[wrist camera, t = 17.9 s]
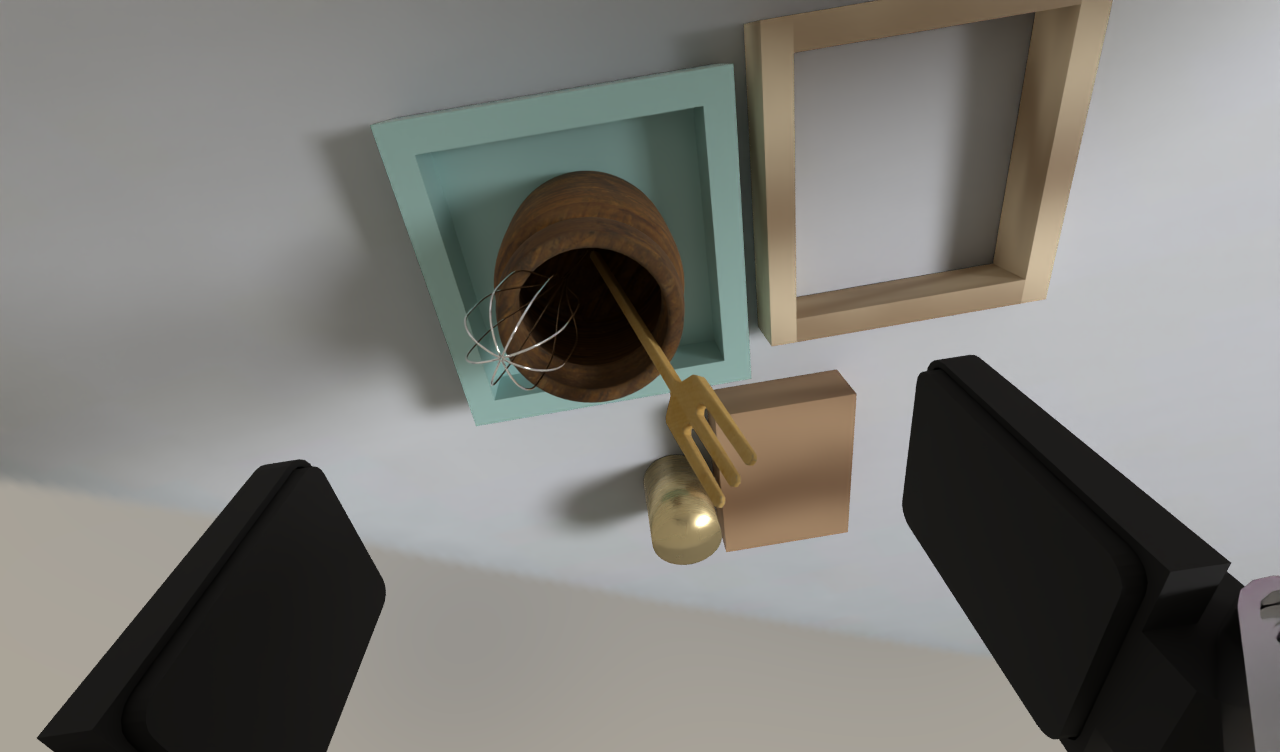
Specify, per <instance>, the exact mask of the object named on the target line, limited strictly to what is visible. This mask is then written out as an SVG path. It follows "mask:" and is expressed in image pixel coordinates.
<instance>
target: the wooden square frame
mask: <svg viewBox="0 0 1280 752" xmlns="http://www.w3.org/2000/svg"><path fill="white" fill-rule="evenodd" d="M1112 1H1113V0H877V1H871V2H865V3H859V4H854V5H848V6H842V7H836V8H830V9H824V10H818V11H812V12H806V13H800V14H794V15H789V16H783V17H777V18H771V19H765V20H759V21H755V22H751V23H747V24H744V41H745V62H746V83H747V104H748V126H749V147H750V168H751V189H752V210H753V231H754V252H755V273H756V294H757V316H758V327H759V328H760V330H761V331H762V333H763V334H764V336H765V337H766V339H767V340H768V342H769V343H770V345H771V346H777V345H783V344H788V343H794V342H800V341H806V340H812V339H817V338H823V337H829V336H835V335H841V334H846V333H852V332H858V331H864V330H870V329H875V328H881V327H887V326H893V325H899V324H904V323H910V322H916V321H922V320H928V319H933V318H939V317H945V316H951V315H957V314H962V313H968V312H974V311H980V310H986V309H991V308H997V307H1003V306H1009V305H1015V304H1020V303H1026V302H1032V301H1038V300H1044V299H1046V296H1047V291H1048V287H1049V282H1050V278H1051V273H1052V269H1053V264H1054V260H1055V256H1056V251H1057V247H1058V242H1059V238H1060V233H1061V229H1062V224H1063V220H1064V215H1065V211H1066V207H1067V202H1068V198H1069V193H1070V189H1071V184H1072V180H1073V175H1074V171H1075V166H1076V162H1077V157H1078V153H1079V149H1080V144H1081V140H1082V135H1083V131H1084V126H1085V122H1086V117H1087V113H1088V108H1089V104H1090V100H1091V95H1092V91H1093V86H1094V82H1095V77H1096V73H1097V68H1098V64H1099V59H1100V55H1101V50H1102V46H1103V42H1104V37H1105V33H1106V28H1107V24H1108V19H1109V15H1110V10H1111V6H1112ZM1032 12H1035V18H1034V24H1033V30H1032V35H1031V41H1030V47H1029V53H1028V59H1027V65H1026V71H1025V77H1024V83H1023V89H1022V95H1021V101H1020V106H1019V112H1018V118H1017V124H1016V130H1015V136H1014V142H1013V148H1012V154H1011V160H1010V166H1009V172H1008V177H1007V183H1006V189H1005V195H1004V201H1003V207H1002V213H1001V219H1000V225H999V231H998V237H997V242H996V248H995V254H994V260H993V264H987V265H981V266H975V267H970V268H964V269H958V270H952V271H946V272H941V273H935V274H929V275H923V276H917V277H912V278H906V279H900V280H894V281H888V282H882V283H877V284H871V285H865V286H859V287H853V288H848V289H842V290H836V291H830V292H824V293H819V294H813V295H807V296H801V297H796V227H795V130H794V53H796V52H802V51H808V50H814V49H820V48H825V47H831V46H837V45H843V44H849V43H855V42H861V41H867V40H873V39H879V38H884V37H890V36H896V35H902V34H908V33H914V32H920V31H926V30H932V29H937V28H943V27H949V26H955V25H961V24H967V23H973V22H979V21H985V20H991V19H996V18H1002V17H1008V16H1014V15H1020V14H1026V13H1032Z"/></svg>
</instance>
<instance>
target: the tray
mask: <svg viewBox="0 0 1280 752" xmlns="http://www.w3.org/2000/svg"><path fill="white" fill-rule="evenodd" d="M370 127H371V129H372V132H373V135H374V138H375V141H376V144H377V146H378V149H379V152H380V155H381V158H382V161H383V163H384V166H385V169H386V172H387V175H388V178H389V180H390V183H391V186H392V189H393V192H394V195H395V197H396V200H397V203H398V206H399V209H400V212H401V214H402V217H403V220H404V223H405V226H406V229H407V231H408V234H409V237H410V240H411V243H412V245H413V248H414V251H415V254H416V257H417V260H418V262H419V265H420V268H421V271H422V274H423V277H424V279H425V282H426V285H427V288H428V291H429V294H430V296H431V299H432V302H433V305H434V308H435V311H436V313H437V316H438V319H439V322H440V325H441V328H442V330H443V333H444V336H445V339H446V342H447V345H448V347H449V350H450V353H451V356H452V359H453V362H454V364H455V367H456V370H457V373H458V376H459V379H460V381H461V384H462V387H463V390H464V393H465V396H466V398H467V401H468V404H469V407H470V410H471V413H472V415H473V418H474V421H475V424H476V426H480V425H486V424H492V423H497V422H503V421H509V420H515V419H521V418H526V417H532V416H538V415H544V414H549V413H555V412H561V411H567V410H573V409H578V408H584V407H590V406H596V405H602V404H607V403H613V402H619V401H625V400H630V399H636V398H642V397H648V396H654V395H659V394H665V393H670V390H669V388H668V386H667V385H666V383H665V381H664V380H663V378H662V376H661V375H659V376H658V377H657V378H656V379H655V380H653V381H652V382H651V383H650V384H648V385H647V386H645V387H644V388H642V389H640V390H639V391H637V392H635V393H633V394H631V395H628V396H626V397H623V398H620V399H616V400H612V401H606V402H597V403H584V402H575V401H570V400H566V399H562V398H559V397H556V396H553V395H551V394H549V393H547V392H545V391H543V390H541V389H539V388H538V387H535V388H534V389H533V390H523V389H521V388H520V387H518V386H517V385H516V384H515V383H514V382H513V381H512V379H511V378H510V377H509V375H508V373H507V372H505V373H504V374H503V376H502V377H501V378H500V380H499V381H498V382H497V383H496V384H495V385H494V386H491V379H492V376H493V373H494V371H495V369H496V366H497V364H498V362H499V360H497V361H493V362H489V363H482V364H472V363H469V362H467V361H466V358H465V357H466V354H467V353H468V351H469V350H470V349H471V348H472V347H473V345H474V344H475V342H474V341H473V340H472V339H471V337H470V336H469V334H468V333H467V331H466V329H465V325H464V318H465V316H466V314H467V313H468V312H469V311H470V310H471V309H472V307H473V306H474V305H475V304H476V303H478V302H479V301H480V300H481V299H482V298H483V297H485V296H486V295H488V294H490V293H492V292H493V291H494V270H495V264H496V259H497V255H498V252H499V248H500V246H501V243H502V240H503V238H504V235H505V233H506V231H507V229H508V226H509V224H510V222H511V220H512V218H513V216H514V214H515V213H516V211H517V209H518V208H519V206H520V205H521V204H522V202H523V201H524V200H525V199H526V198H527V196H528V195H529V194H530V193H531V192H532V191H534V190H535V189H536V188H537V187H539V186H540V185H542V184H543V183H545V182H546V181H548V180H550V179H552V178H554V177H557V176H559V175H562V174H565V173H569V172H575V171H599V172H604V173H608V174H612V175H615V176H617V177H619V178H622V179H624V180H626V181H628V182H629V183H631V184H632V185H634V186H635V187H637V188H638V189H639V190H641V191H642V192H643V193H644V194H645V195H646V196H647V197H648V198H649V199H650V200H651V201H652V203H653V204H654V205H655V206H656V208H657V209H658V211H659V212H660V214H661V216H662V217H663V219H664V221H665V223H666V225H667V226H668V228H669V230H670V232H671V234H672V236H673V239H674V241H675V243H676V245H677V248H678V251H679V254H680V257H681V261H682V265H683V271H684V281H685V289H684V303H685V315H684V327H683V332H682V337H681V340H680V343H679V346H678V348H677V350H676V353H675V355H674V356H673V358H672V360H671V361H670V364H671V365H672V367H673V368H674V370H675V371H676V373H677V375H678V376H679V378H680V379H681V381H683V380H685V379H687V378H688V377H690V376H691V375H698V376H701V377H704V378H705V379H706V380H707V382H708V383H709V384H710V386H712V385H717V384H723V383H729V382H735V381H740V380H746V379H751V365H750V348H749V330H748V313H747V295H746V277H745V260H744V242H743V225H742V207H741V189H740V172H739V154H738V136H737V119H736V101H735V84H734V66H733V64H711V65H705V66H699V67H693V68H687V69H681V70H676V71H670V72H664V73H658V74H652V75H646V76H640V77H634V78H628V79H623V80H617V81H611V82H605V83H599V84H593V85H587V86H581V87H575V88H569V89H564V90H558V91H552V92H546V93H540V94H534V95H528V96H522V97H516V98H510V99H505V100H499V101H493V102H487V103H481V104H475V105H469V106H463V107H457V108H451V109H446V110H440V111H434V112H428V113H422V114H416V115H410V116H404V117H398V118H393V119H390V120H387V121H383V122H380V123H377V124H373V125H370ZM491 296H492V295H490V296H489V297H487V298H485V299H484V300H483V301H482V302H481V303H480V304H478V305H477V306H476V307H475V309H474V310H473V311H472V312H471V313H470V314H469V315H468V317H467V320H466V323H467V327H468V330H469V332H470V333H471V335H472V336H473V337H474V338H475V339H476V340H477V341H478V340H479V339H480V338H481V337H482V336H483V335H484V334H485V333H486V332H487V331H488V330H489V329H490V328H491V327H490V319H489V306H490V300H491ZM492 324H493V326H494V325H495V324H497V320H496V300H495V294H494V297H493V301H492ZM493 330H494V335H495V339H496V342H497V345H498V348H499V351H500V353H501V355H502V353H503V351H504V348H503V345H502V343H501V340H500V336H499V332H498V326H496V327H495V328H493ZM479 343H480V344H481V345H482V346H484V347H485V348H486V349H488V350H490V351H491V352H493V353H495V354H496V355H498V352H497V350H496V347H495V344H494V340H493V337H492V332H491V331H490V332H489V333H488V334H486V335H485V337H484V338H483V339H482V340H481V341H480V342H479ZM498 356H499V355H498ZM504 356H507V354H506V352H505V354H504ZM504 356H503V357H504ZM496 358H497V357H495V356H493V355H492V354H490V353H488V352H487V351H485V350H484V349H483V348H481V347H480V346H479V345H478V344H477V345H476V346H475V347H474V349H473V350H472V351H471V352H470V354H469V355H468V360H470V361H473V362H479V361H487V360H492V359H496ZM501 359H502V358H501ZM505 359H506V360H508V361H510V359H509V358H505ZM504 363H505V365H506V367H507V366H508V364H509V363H507V362H505V361H504ZM504 370H505V368H504V366H503V364H502V362H501V363H500V365H499V367H498V370H497V372H496V375H495V377H494V380H493V383H494V382H495V381H496V380H497V379H498V378H499V376H500V375H501V374H502V372H503V371H504ZM508 371H509V372H510V374H511V375H512V377H513V378H514V380H515V381H516V382H517V383H518V384H519V385H521V386H522V387H524V388H532V387H533V386H534V385H533V384H532V383H531V382H529V381H528V380H527V379H526V378H525V377H524V376H523V375H522V374H521V373H520V372H519V371H518V370H517V369H516V368H515V366H514V365H512V364H511V365H510V366H509V368H508Z"/></svg>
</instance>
